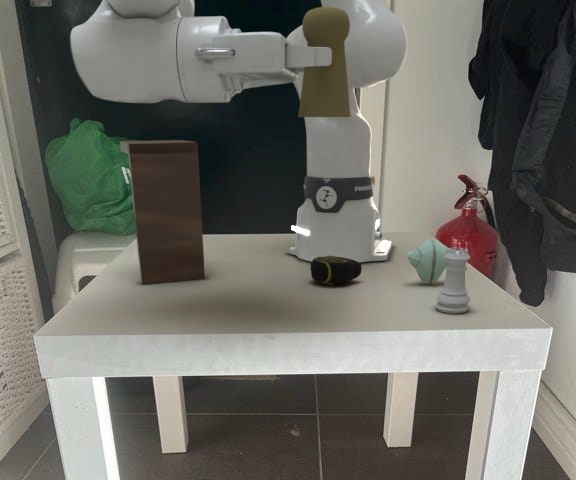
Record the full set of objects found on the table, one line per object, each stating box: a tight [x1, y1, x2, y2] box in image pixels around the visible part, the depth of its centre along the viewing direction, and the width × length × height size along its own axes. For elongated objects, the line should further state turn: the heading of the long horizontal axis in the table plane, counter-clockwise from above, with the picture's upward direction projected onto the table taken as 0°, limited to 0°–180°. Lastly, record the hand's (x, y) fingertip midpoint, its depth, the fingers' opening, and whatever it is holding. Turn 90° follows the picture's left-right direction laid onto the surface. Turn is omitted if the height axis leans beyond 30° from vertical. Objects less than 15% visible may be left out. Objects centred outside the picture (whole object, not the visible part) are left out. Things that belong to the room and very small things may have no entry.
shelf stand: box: [119, 139, 206, 285], centre depth 102 cm, size 11×10×20 cm
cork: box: [298, 6, 351, 118], centre depth 72 cm, size 6×6×11 cm
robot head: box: [406, 238, 448, 285], centre depth 97 cm, size 8×4×7 cm, turn 94°
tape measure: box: [309, 256, 362, 286], centre depth 99 cm, size 7×7×4 cm
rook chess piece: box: [435, 247, 471, 315], centre depth 84 cm, size 4×4×8 cm
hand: (333, 59), depth 72 cm, fingers closed on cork, 4 cm apart
